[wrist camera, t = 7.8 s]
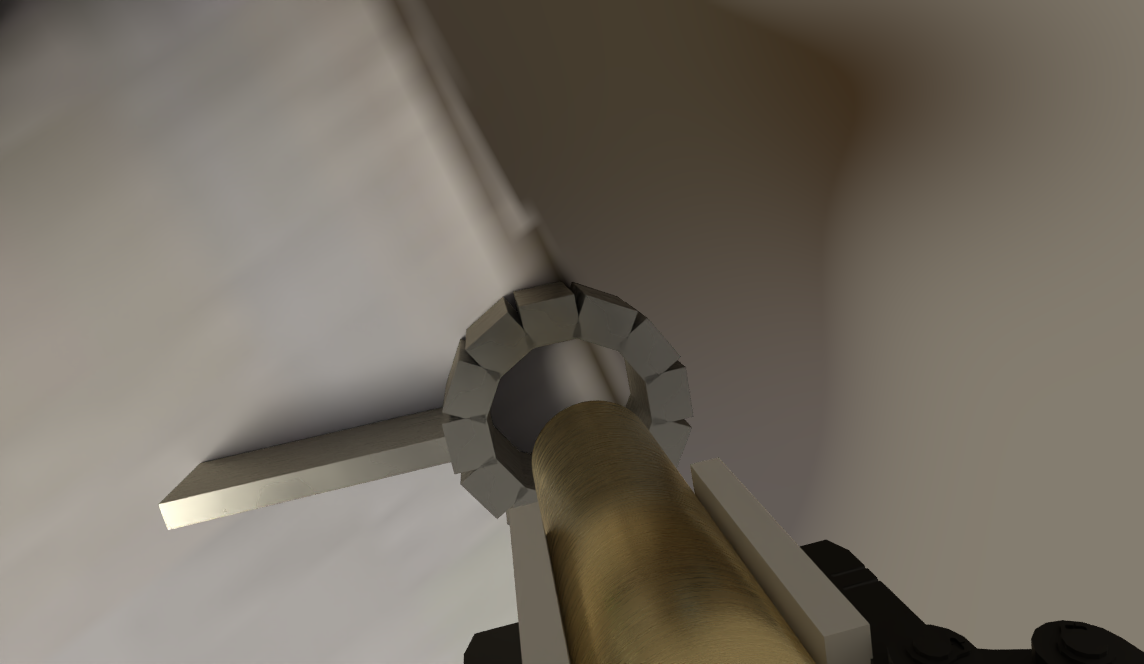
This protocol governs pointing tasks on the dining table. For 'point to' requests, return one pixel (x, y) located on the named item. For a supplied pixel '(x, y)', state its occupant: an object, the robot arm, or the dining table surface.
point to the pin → (644, 553)
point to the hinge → (457, 415)
